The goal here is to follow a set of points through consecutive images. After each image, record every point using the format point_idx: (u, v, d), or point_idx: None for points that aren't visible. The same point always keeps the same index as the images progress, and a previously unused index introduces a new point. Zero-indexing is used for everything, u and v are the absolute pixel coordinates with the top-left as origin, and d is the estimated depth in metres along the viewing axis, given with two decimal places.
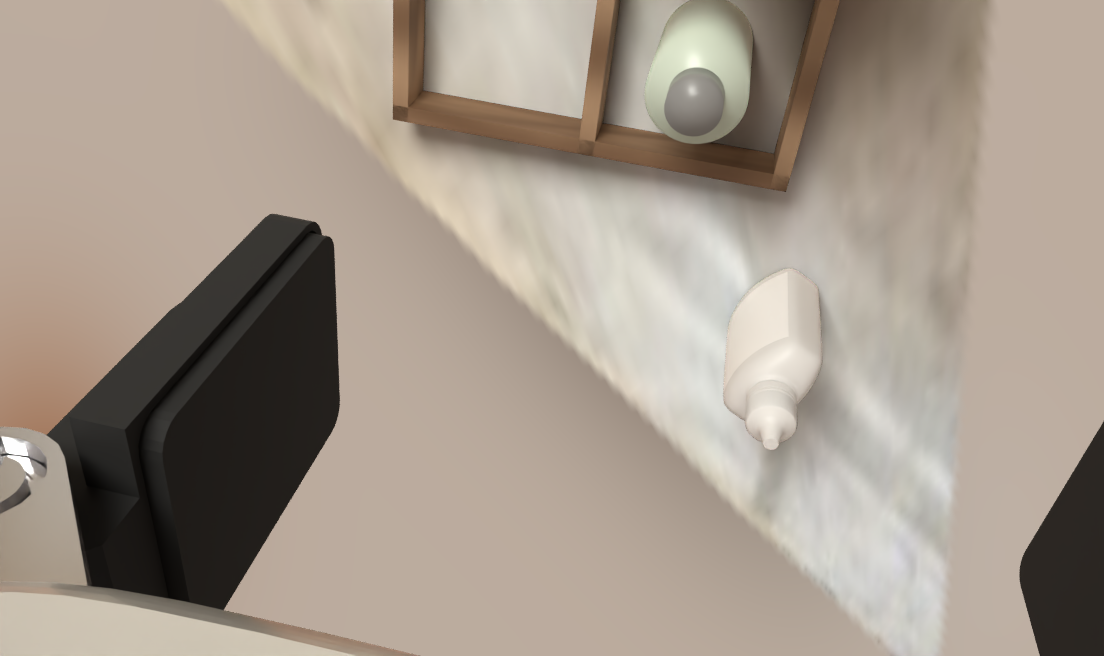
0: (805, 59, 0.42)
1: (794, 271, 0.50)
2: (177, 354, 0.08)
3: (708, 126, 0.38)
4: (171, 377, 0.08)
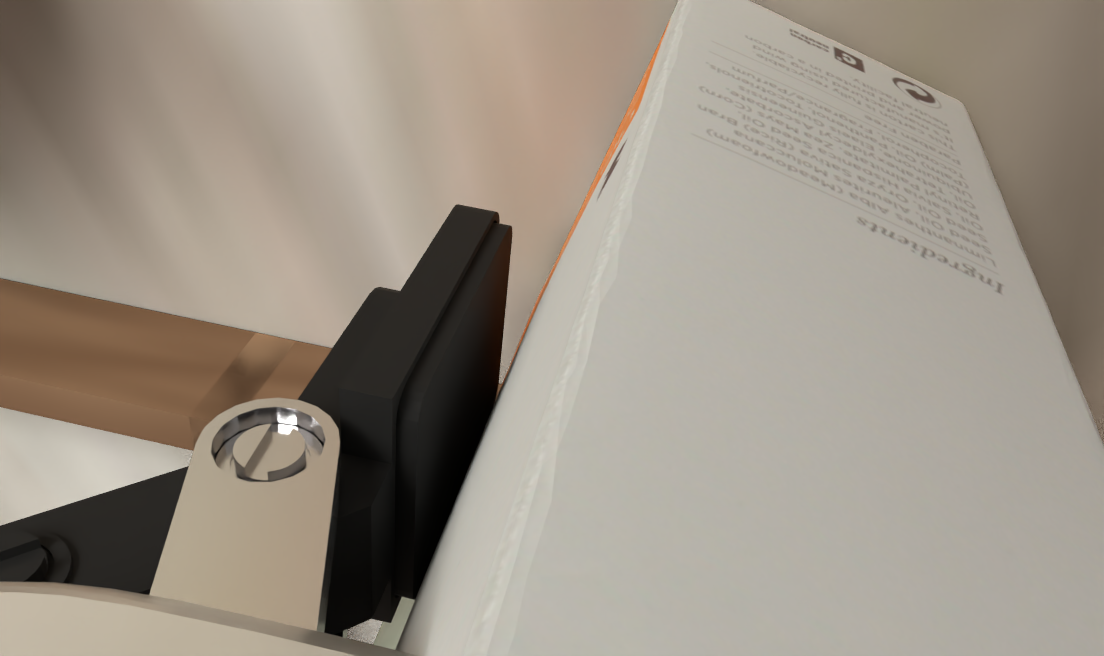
0: None
1: None
2: (415, 332, 0.09)
3: None
4: (418, 353, 0.09)
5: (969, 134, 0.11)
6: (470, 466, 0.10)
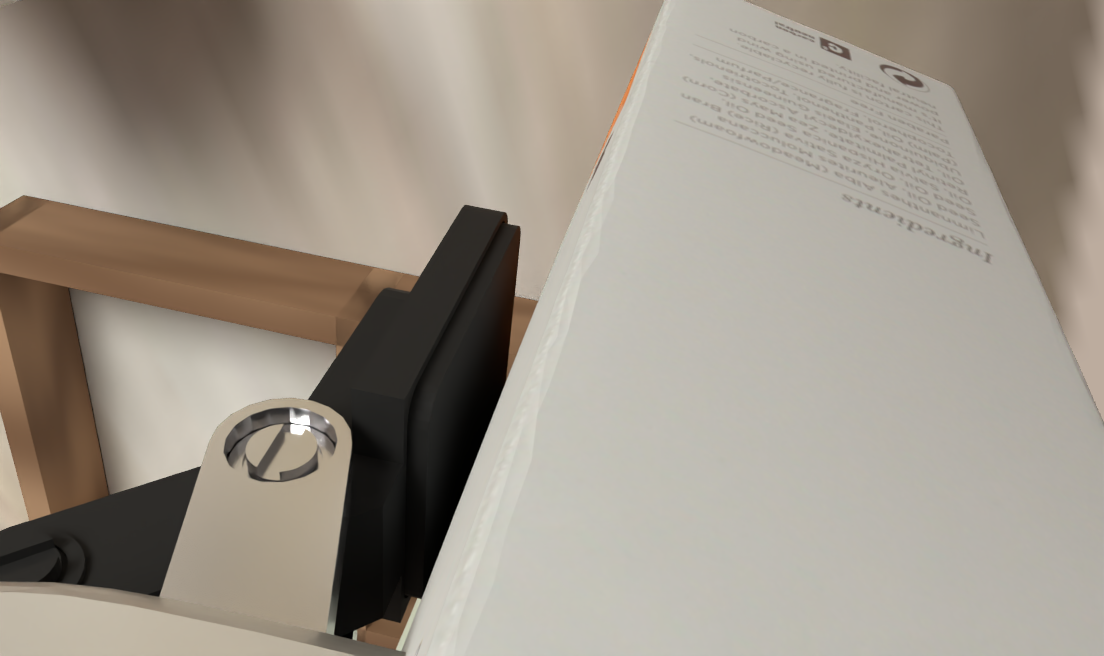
0: None
1: None
2: (426, 333, 0.09)
3: None
4: (428, 354, 0.09)
5: (958, 115, 0.11)
6: None
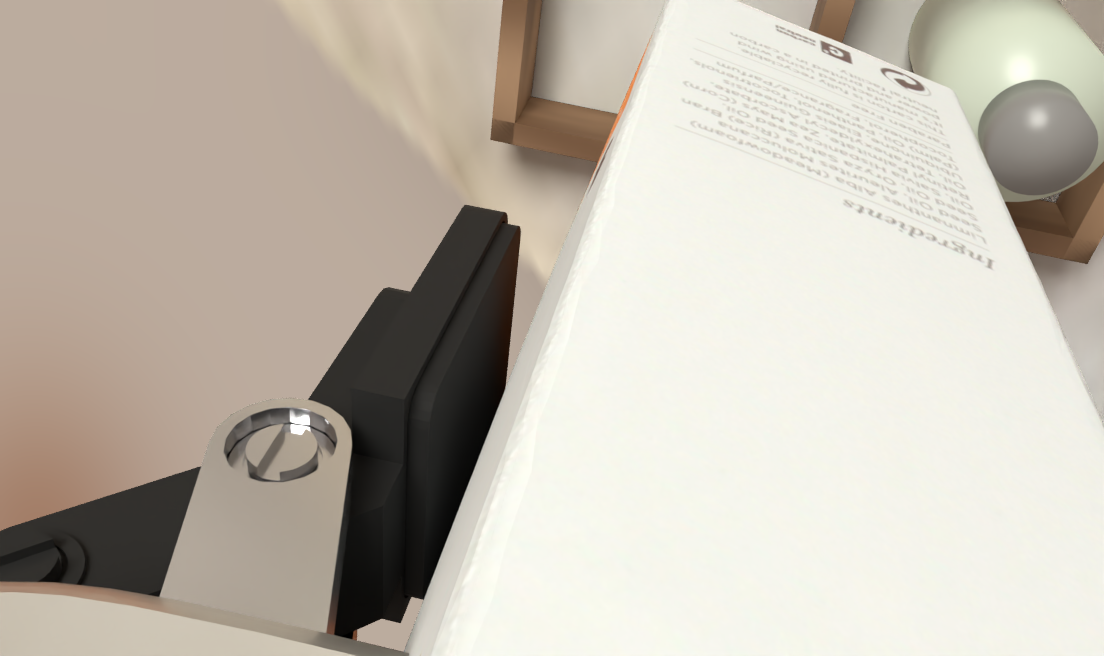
0: None
1: None
2: (426, 332, 0.09)
3: (1062, 180, 0.23)
4: (428, 353, 0.09)
5: (959, 120, 0.11)
6: None
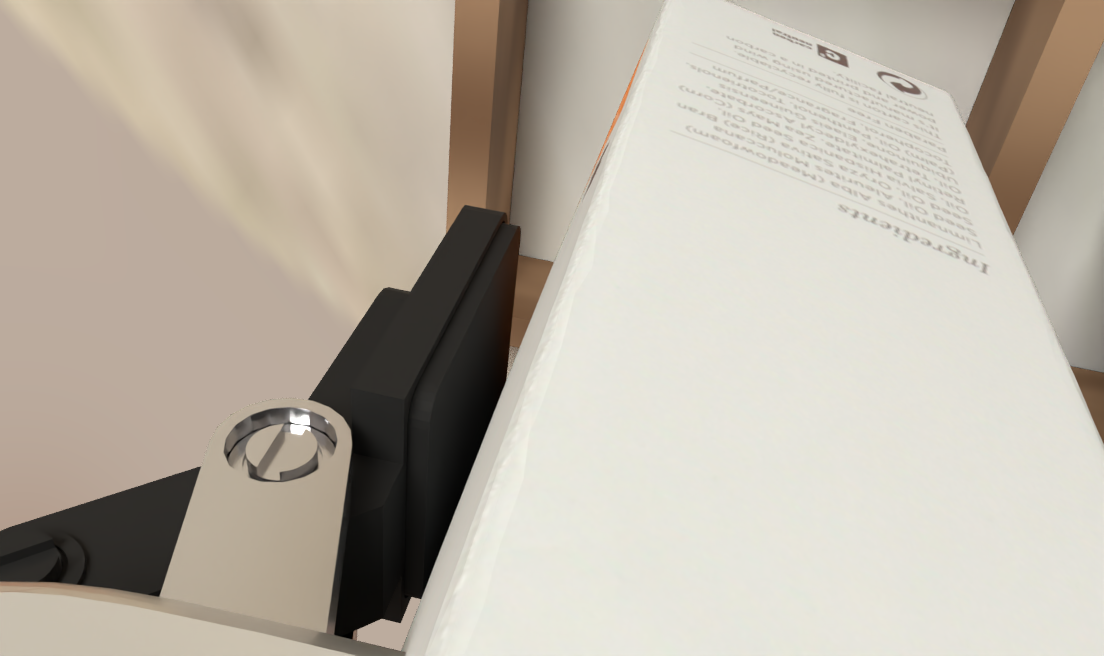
0: None
1: None
2: (426, 332, 0.09)
3: None
4: (429, 354, 0.09)
5: (954, 123, 0.11)
6: None
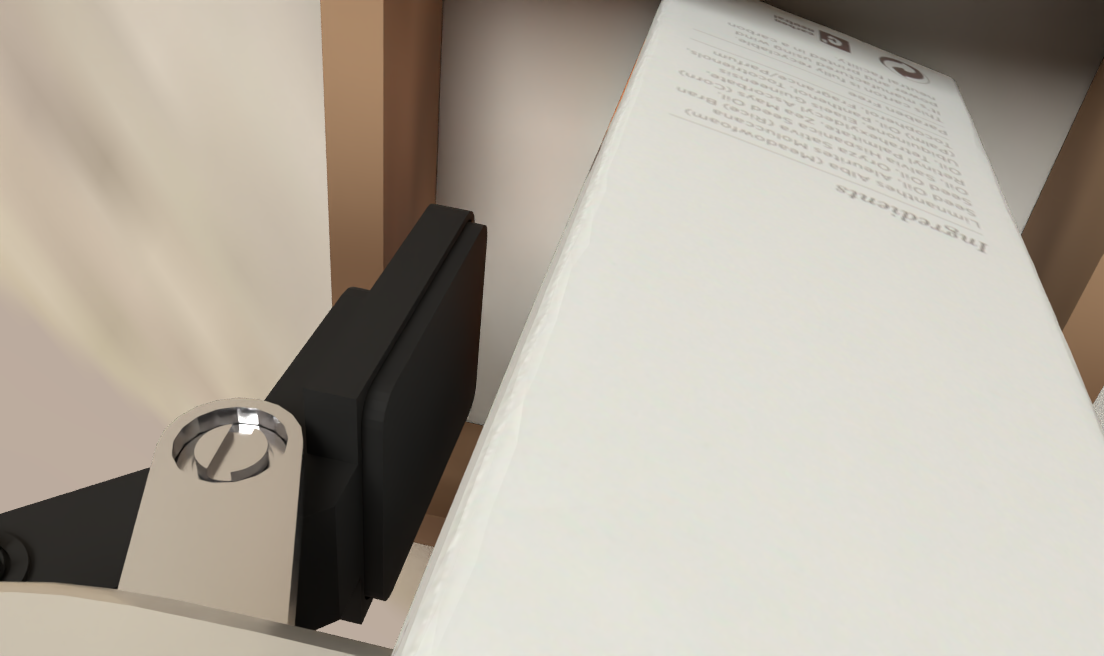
0: None
1: None
2: (383, 332, 0.09)
3: None
4: (384, 353, 0.09)
5: (957, 107, 0.11)
6: None
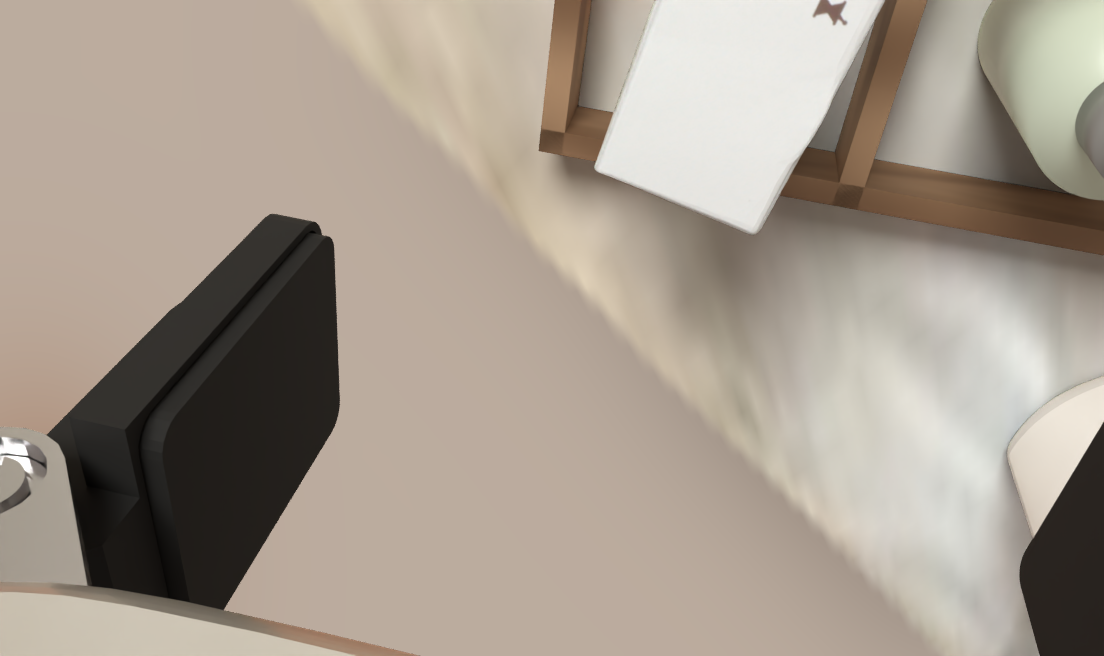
0: None
1: None
2: (177, 354, 0.08)
3: None
4: (171, 377, 0.08)
5: None
6: None
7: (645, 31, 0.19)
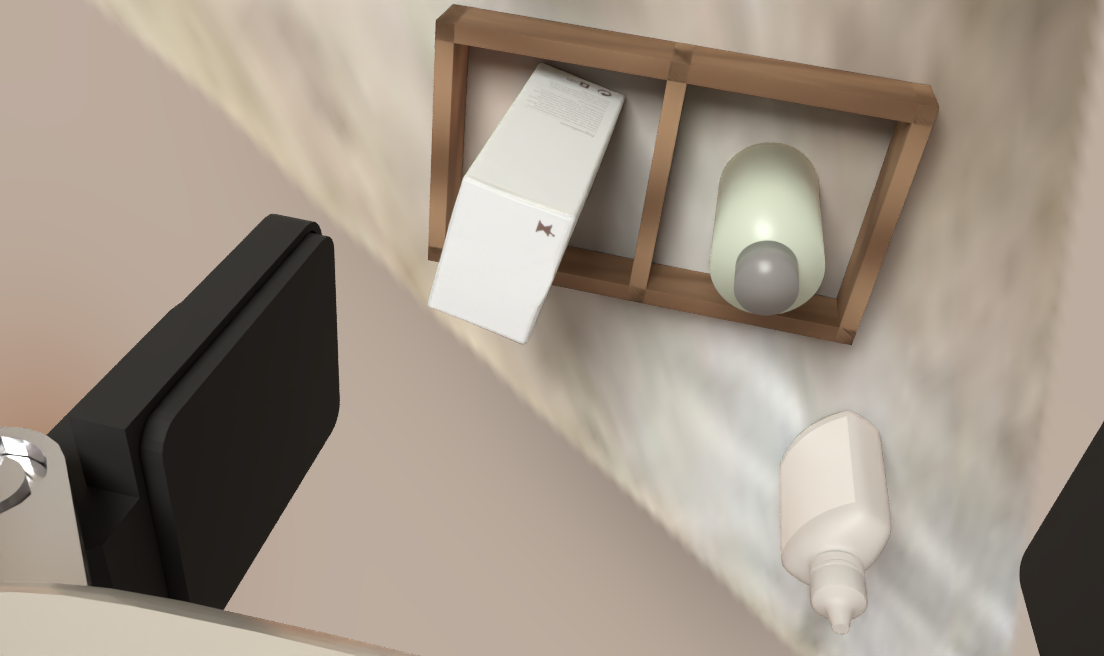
0: (879, 216, 0.39)
1: (854, 415, 0.47)
2: (178, 354, 0.08)
3: (782, 306, 0.35)
4: (172, 377, 0.08)
5: (616, 104, 0.39)
6: None
7: (447, 233, 0.33)
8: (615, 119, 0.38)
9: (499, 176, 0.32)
